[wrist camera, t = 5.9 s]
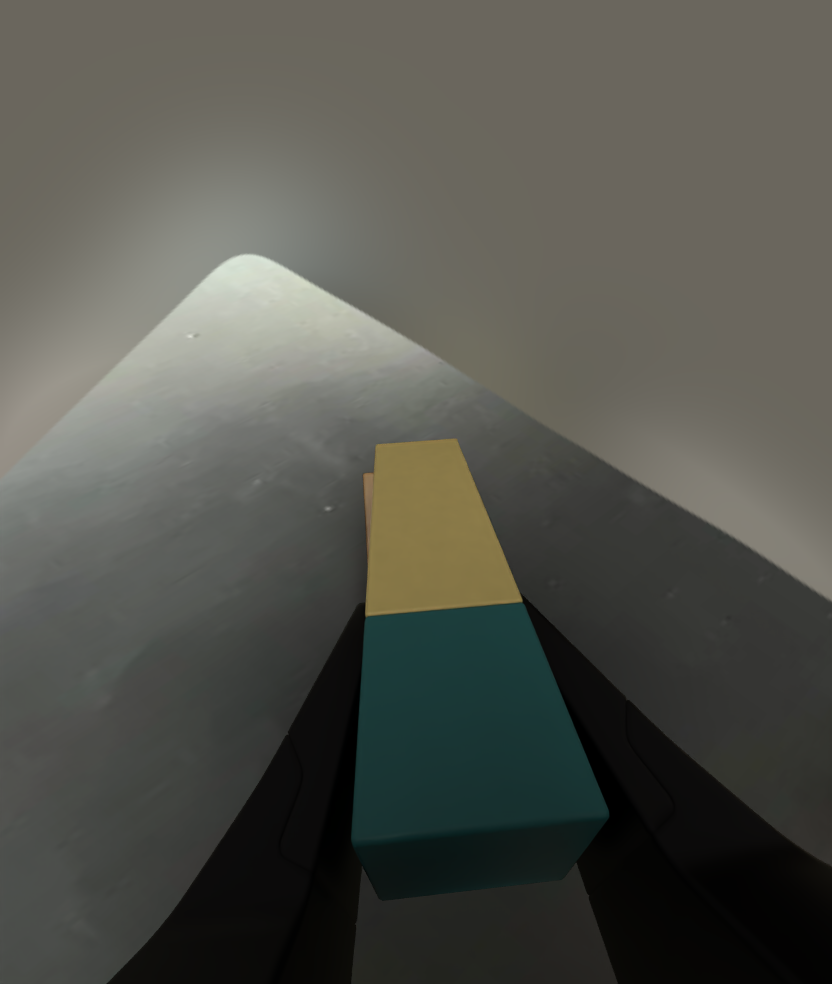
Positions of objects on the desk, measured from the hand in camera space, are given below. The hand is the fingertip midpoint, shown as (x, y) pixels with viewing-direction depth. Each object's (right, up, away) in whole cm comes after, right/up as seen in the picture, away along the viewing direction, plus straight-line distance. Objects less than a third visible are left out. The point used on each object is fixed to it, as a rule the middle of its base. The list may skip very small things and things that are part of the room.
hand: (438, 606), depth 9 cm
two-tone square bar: (0, +1, +1) cm, 1 cm away
